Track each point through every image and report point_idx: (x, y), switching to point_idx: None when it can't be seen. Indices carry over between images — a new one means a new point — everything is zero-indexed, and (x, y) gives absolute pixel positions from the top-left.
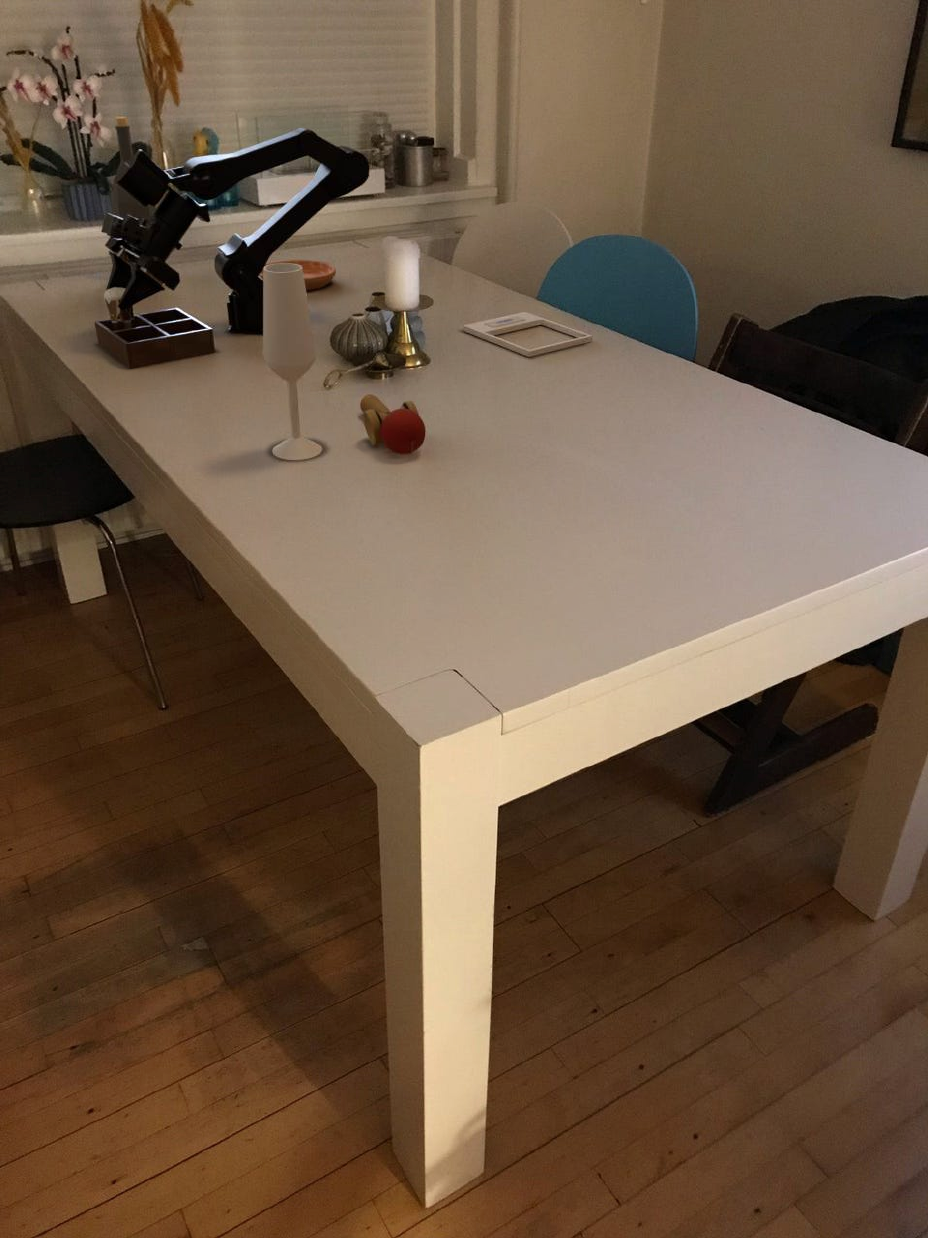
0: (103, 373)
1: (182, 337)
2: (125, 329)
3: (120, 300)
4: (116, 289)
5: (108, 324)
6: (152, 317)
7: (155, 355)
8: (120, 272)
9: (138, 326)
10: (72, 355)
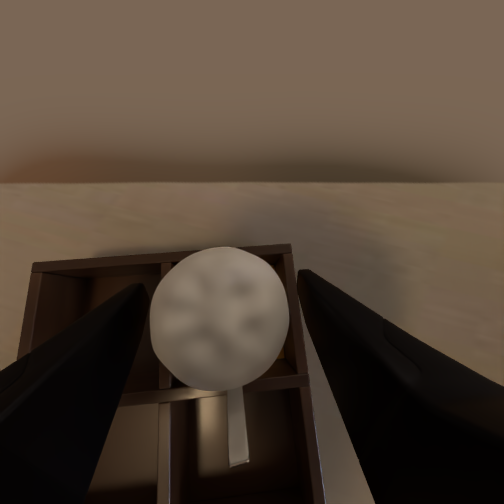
0: (92, 219)
1: None
2: None
3: (120, 296)
4: (202, 306)
5: (282, 280)
6: (300, 428)
7: None
8: (388, 413)
9: (285, 365)
10: (235, 197)
